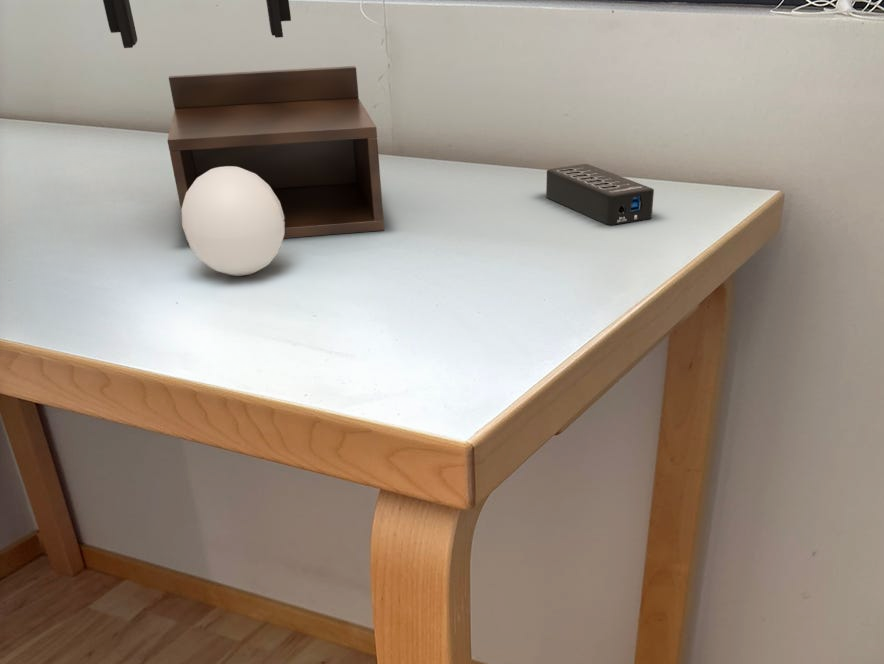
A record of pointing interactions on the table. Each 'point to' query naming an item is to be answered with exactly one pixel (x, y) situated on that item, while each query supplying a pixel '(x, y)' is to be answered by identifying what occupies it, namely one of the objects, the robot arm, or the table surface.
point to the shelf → (284, 142)
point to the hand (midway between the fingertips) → (204, 40)
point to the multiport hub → (599, 194)
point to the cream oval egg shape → (233, 220)
